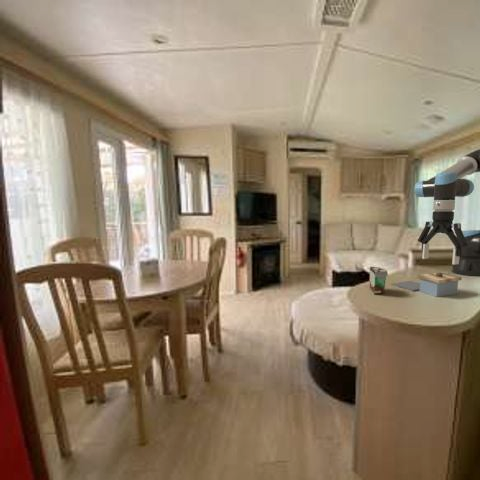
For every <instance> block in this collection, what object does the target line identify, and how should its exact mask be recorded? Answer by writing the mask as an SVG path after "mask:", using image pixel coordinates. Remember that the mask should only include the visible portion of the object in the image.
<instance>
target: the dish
mask: <svg viewBox="0 0 480 480" xmlns="http://www.w3.org/2000/svg"><path fill="white" fill-rule="evenodd" d="M419 283H420V290H419V293H422V294H426V295H430V296H432V297H435V298H436V297H437V298H438V297H445V296H450V295H455V294H458V286H459V285H458V284H459V280H458V281H451V282H444V283H436V282H432V281H428V280H424V279H420V278H419Z"/></svg>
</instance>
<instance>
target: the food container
mask: <svg viewBox="0 0 480 480" xmlns="http://www.w3.org/2000/svg"><path fill="white" fill-rule="evenodd" d="M388 276H389V273H388V270H387V269H386V268H384V267H379V266H369V290H370V291H371V293H372V295H374V296H378V295H379V296H381V295H383V294H384V293H385V287H386V280H387V277H388Z"/></svg>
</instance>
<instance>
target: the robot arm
mask: <svg viewBox="0 0 480 480" xmlns="http://www.w3.org/2000/svg"><path fill="white" fill-rule="evenodd" d="M479 172H480V148H478V149H477V150H474V151H471V152H469V153H468V154H465V155H463V156H462V157H460V158H459V159H458V160H457V161H456V163H455V164H453V165H451V166H449V167H447V168H446V169H444V170H442V171H441V172H439V173H437V174H436V175H434V176H432V177H431V178H429V179H427V180H422V181H421V180H420V181H418V182H416V183H415V185H414V188H413V189H414V194H415V196H416V197H417V198H433V203H432V205H433V206H432V207H433V208H432V210H433V212H432V216H431V218H432V221H425V224H424V228H423V230H422V232H421V233H420V236H419V237H418V239H417V242H418V243H421V252H422V260H426V259H427V260H428V259H429V256H430V255H429V253H430V252H429V251H430V244H429V242H430V241H431V240H432V239H433V238H434V237H435V236H436V234H445V235H446V236H448V239H449V240H450V241H451V243H452V244H453V245H454V248H453V250H452V260H451V261H452V262H451V264H452V266H451V272H452V273H454V274H457V275H462V276H470V277H471V276H473V277H475V276H476V277H480V229H473V230H472V229H471V230H470V229H469V230H462V226H461V225H462V223H460V222H459V223H457V222H455V223H454V222H453V221H454V219H455V212H454V210H455V209H456V205H455V204H456V197H458V198H464V197H468V196H470V195H471V194H472V193H473V192H474V190H475V185H474V182H473V181H471V179H467V178H464V177H466V176H470V175H473V174H475V173H479Z"/></svg>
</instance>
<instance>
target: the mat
mask: <svg viewBox="0 0 480 480" xmlns="http://www.w3.org/2000/svg"><path fill="white" fill-rule="evenodd" d="M390 284H391V286H395V287H397V286H398V288H402V289H403V290H407V289H408V291H411V292H417V291H420V282H417V281H416V282H415V281H412V280H406V281H399V282H393V283H390Z"/></svg>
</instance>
